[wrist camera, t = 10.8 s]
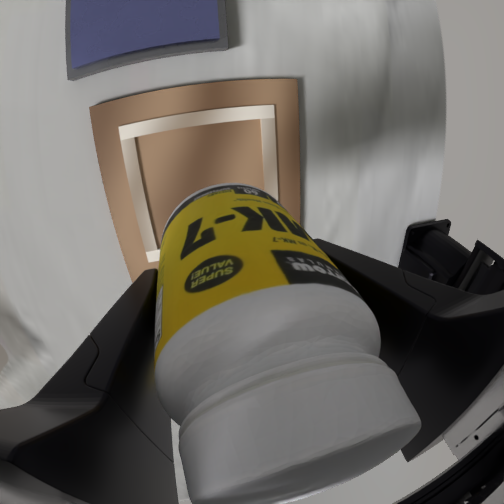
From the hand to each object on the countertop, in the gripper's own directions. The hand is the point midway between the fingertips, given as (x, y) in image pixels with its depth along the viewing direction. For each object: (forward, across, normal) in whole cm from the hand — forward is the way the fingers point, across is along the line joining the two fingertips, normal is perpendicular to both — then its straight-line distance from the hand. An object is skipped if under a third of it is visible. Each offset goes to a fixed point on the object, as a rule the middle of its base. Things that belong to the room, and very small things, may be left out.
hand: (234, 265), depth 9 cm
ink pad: (+9, +3, -13) cm, 16 cm away
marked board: (+10, 0, 0) cm, 10 cm away
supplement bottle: (+2, 0, 0) cm, 2 cm away
